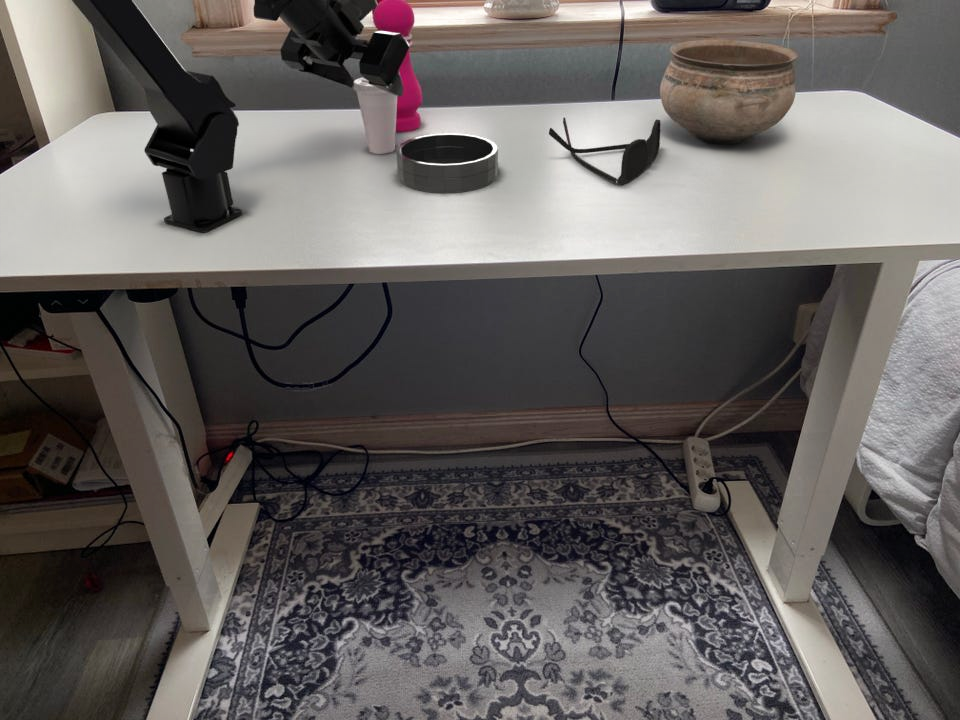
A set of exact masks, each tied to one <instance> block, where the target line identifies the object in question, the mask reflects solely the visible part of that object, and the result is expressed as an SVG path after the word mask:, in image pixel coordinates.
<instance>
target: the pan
mask: <svg viewBox="0 0 960 720" xmlns="http://www.w3.org/2000/svg"><path fill="white" fill-rule="evenodd" d="M395 151H396V152H395V153H396V167H397V178H398V181H399V182H400V183H401V184H402V185H404V186H405V187H407V188H410V189H412V190H415V191H420V192H425V193H433V194H434V193H435V194H456V193H464V192H470V191H476V190H479V189H482V188H485V187H487V186H489V185H491V184H492V183H493V182H495V181H496V179H497V178H498V173H499V148H498V146H497V144H496V143H495V142H493V141H492V140H491V139H488V138H486V137H481V136H478V135H472V134H468V133H467V134H466V133H433V134H427V135H420V136H416V137H412V138H409V139H407V140H404V141H403V142H401V143H400V144H399V145H398V146H397V147H395Z"/></svg>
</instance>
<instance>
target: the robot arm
mask: <svg viewBox="0 0 960 720" xmlns="http://www.w3.org/2000/svg"><path fill="white" fill-rule="evenodd" d="M71 1H72V3H73V4H74V5H75V6H76V8H77V9H78V10H79V11H80V13H81V14H82V15H83V16H84V17H85V19H86V20H87V22H89V24H90V25H91V26H92V28H93V29H95V31H96V32H97V33H98V34H99V36H100V37H101V38H102V39H103V41H104V42H105V44H107V46H108V47H109V48H110V50H112V51H113V53H114V54H115V55H116V56H117V58H118V59H119V60H120V61H121V62H122V64H123V65H124V66H125V67H126V69H127V70H128V72H130V74H131V75H132V76H133V77H134V78H135V80H136V81H137V82H138V83H139V85H140V86H141V88H142V89H143V90H144V92H145V93H144V94H145V97H146V101H147V106H148V110H149V112H150V114H151V116H152V118H153V119H154V121H155V123H156V126H155V128H154V130H153V132H152V133H151V136H150V137H149V140H148V141H147V144H146V145H145V147H144V149H143V150H144V153H145V155H146V157H147V158H148V159H149V161H150V162H151V164H152V165H153V166H154V167H160V168H164V169H166V170H164V171H163V172H161V176H162V180H163V184H164V188H165V192H166V196H167V200H168V204H169V209H170V212H171V214H169V215H166V216H165V217H163V221H164V223H165V224H169V225H173V226H177V227H182V228H184V229H188V230H189V229H190V230H193V231H197V232H201V233H203V232H207V231H210V230H211V229H214V228H215V227H217V226H220V225H222V224H224V223H226V222H228V221H230V220H232V219H235V218H237V217H238V216H241V215H243V209H242V208H239V207H235V206H233V205H234V200H233V195H232V190H231V184H230V180H229V174H228V172H227V171H229V170H232V169H233V167H234V160H235V149H236V140H237V136H238V127H239V126H240V122H239V119H238V116H237V115H236V112H235V111H234V109H232V108H236V106H237V105H236V103H235V102H234V101H232V100H230V99H229V98H228V97H227V95H226V94H225V92H224V91H223V88H222V87H221V85H220V82H219V81H218V80H217V79H216V78H215V76H214V75H211V74H207V73H206V74H205V73H202V72H198V71H197V72H196V71H191V70H186V69H185V68H184V67H183V65H182V64H181V63H180V61H179V60H178V59H177V57H176V56H175V54H173V52H172V51H171V49H170V48H169V46H168V45H167V44H166V43H165V41H164V40H163V38H162V37H161V36H160V34H159V33H158V32H157V31H156V29H155V28H154V26H153V25H152V24H151V22H150V21H149V20H148V18H147V16H145V14H144V13H143V12H142V10H141V9H140V8H139V6H138V5H137V4H136V2H135V1H134V0H71ZM253 1H254V2H253V3H254V4H253V16H254V18H255V19H259V20H264V21H270V22H271V21H272V22H277V21H278V20H279V19H280V20H281V21H282V22H283V23H285V25H286V26H287V27H288V28H290V29H289V31H288V33H287V36H286V37H285V39H284V41H283V44H282V46H281V48H280V49H279V51H280V58H281V61H282V62H283V63H284V64H285V65H286V66H288V68H289V69H293V70H298V71H299V72H300V73H305V74H308V75H311V76H314V77H316V78H320V79H323V80H326V81H329V82H332V83H335V84H338V85H341V86H344V87H347V88H354V81H355V79H354V78H353V76H352V75H351V73H350V72H349V70H348V69H347V68H346V66H345V65H344V63H345V62H346V61H347V60H349V59H354V60H359V61H358V67H359V74H360V75H361V77H364V78H365V79H366V80H368V81H369V82H368V83H369V84H370V85H373V86H375V87H377V88H380V89H382V90H384V91H386V92H389V93H391V94H393V95H396V96H398V97H401V96H402V95H403V92H404V88H403V84H402V80H401V77H400V73H399V69H400V67H401V64H402V62H403V60H404V58H405V56H406V54H407V52H408V50H409V48H410V49H411V46H410V47H409V44H408V42H407V41H406V39H405V38H404V37H403V36H402V34H401V33H394V32H387V31H379V30H377V31H374V32H373V33H372V34H371V35H372V36H371V37H370V39H360V38H358V37H357V36H358V35H361V34H362V33H363V31H364V28H365V25H364V24H363V23H362V21H363V20H364V19H365V18H366V17H367V16H368V15H369V14H370V13H371V12H372V11H373V10H375V9H376V8H377V6H378V4H379V3H378V1H377V0H253ZM191 150H192V151H191Z"/></svg>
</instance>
